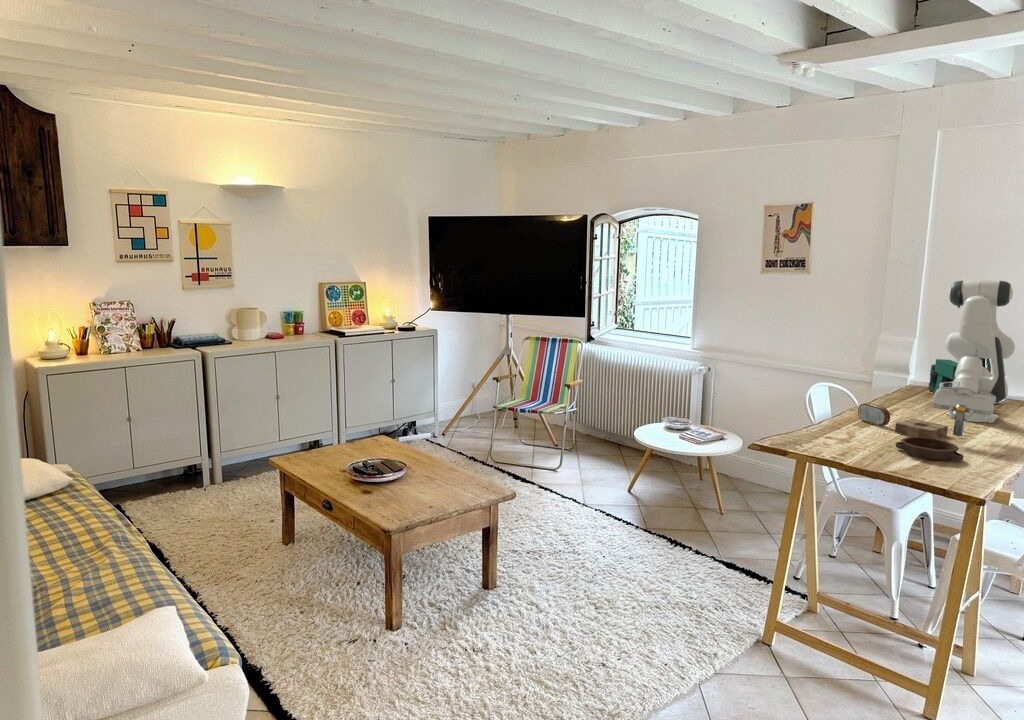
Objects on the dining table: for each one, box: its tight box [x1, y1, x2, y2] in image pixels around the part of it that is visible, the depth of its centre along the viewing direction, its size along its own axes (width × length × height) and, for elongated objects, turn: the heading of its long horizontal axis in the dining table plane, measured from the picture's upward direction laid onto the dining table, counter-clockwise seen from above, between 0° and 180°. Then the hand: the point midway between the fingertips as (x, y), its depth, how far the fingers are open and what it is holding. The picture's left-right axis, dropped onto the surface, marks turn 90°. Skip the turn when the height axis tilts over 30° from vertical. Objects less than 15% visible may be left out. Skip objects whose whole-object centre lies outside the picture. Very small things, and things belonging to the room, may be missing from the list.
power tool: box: [930, 358, 958, 397], centre depth 341 cm, size 32×7×20 cm, turn 168°
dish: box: [895, 436, 965, 462], centre depth 256 cm, size 18×22×5 cm
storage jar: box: [927, 364, 939, 392], centre depth 365 cm, size 10×10×15 cm
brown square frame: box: [894, 418, 949, 440], centre depth 285 cm, size 14×14×4 cm
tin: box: [857, 402, 891, 427], centre depth 301 cm, size 15×3×8 cm, turn 20°
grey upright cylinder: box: [952, 404, 966, 437], centre depth 269 cm, size 3×3×12 cm
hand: (959, 419), depth 269 cm, fingers closed on grey upright cylinder, 3 cm apart
